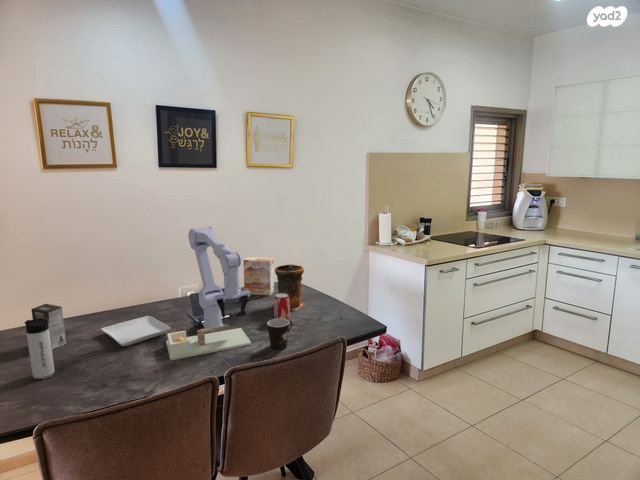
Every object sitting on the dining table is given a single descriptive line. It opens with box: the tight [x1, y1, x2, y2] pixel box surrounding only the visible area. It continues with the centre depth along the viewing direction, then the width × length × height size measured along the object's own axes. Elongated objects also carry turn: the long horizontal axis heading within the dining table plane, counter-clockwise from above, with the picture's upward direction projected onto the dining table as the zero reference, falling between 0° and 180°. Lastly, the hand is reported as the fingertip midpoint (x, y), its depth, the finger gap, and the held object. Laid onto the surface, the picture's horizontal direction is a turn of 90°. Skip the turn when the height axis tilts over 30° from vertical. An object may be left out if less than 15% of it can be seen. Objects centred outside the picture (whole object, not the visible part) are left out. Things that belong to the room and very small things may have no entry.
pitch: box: [165, 327, 252, 361], centre depth 166 cm, size 16×30×1 cm, turn 115°
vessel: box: [274, 263, 305, 311], centre depth 207 cm, size 14×14×20 cm
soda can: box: [273, 293, 291, 321], centre depth 190 cm, size 7×7×12 cm
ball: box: [174, 337, 185, 343], centre depth 161 cm, size 4×4×4 cm
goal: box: [166, 330, 190, 355], centre depth 161 cm, size 11×7×4 cm, turn 25°
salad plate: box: [100, 315, 172, 347], centre depth 175 cm, size 21×21×3 cm
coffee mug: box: [266, 318, 293, 351], centre depth 164 cm, size 12×9×10 cm
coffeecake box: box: [243, 256, 275, 296], centre depth 227 cm, size 15×7×20 cm, turn 81°
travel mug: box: [24, 318, 55, 380], centre depth 140 cm, size 6×7×20 cm
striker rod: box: [196, 312, 238, 345], centre depth 167 cm, size 5×16×10 cm, turn 115°
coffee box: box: [31, 303, 67, 351], centre depth 163 cm, size 9×6×16 cm
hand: (232, 315), depth 169 cm, fingers open, 7 cm apart
